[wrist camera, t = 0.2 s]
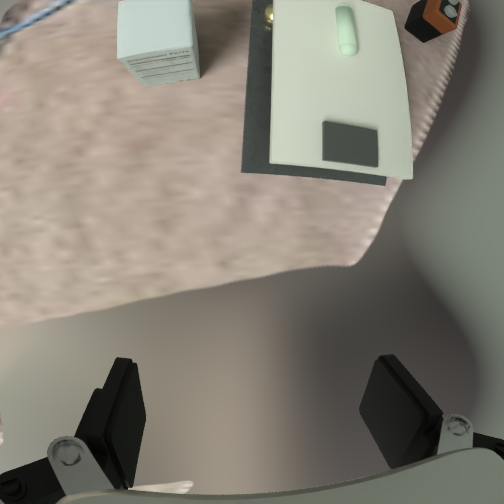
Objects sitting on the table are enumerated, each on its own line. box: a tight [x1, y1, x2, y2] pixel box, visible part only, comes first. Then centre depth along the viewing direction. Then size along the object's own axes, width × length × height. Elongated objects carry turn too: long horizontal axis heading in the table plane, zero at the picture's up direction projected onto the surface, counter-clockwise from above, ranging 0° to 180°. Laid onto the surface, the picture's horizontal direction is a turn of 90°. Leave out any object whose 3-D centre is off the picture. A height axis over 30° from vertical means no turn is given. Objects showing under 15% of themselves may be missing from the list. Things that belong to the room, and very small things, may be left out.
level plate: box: [269, 0, 413, 180], centre depth 28 cm, size 24×16×4 cm, turn 177°
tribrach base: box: [241, 0, 386, 186], centre depth 33 cm, size 26×20×6 cm
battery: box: [405, 0, 461, 43], centre depth 29 cm, size 4×7×10 cm, turn 155°
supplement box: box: [117, 0, 200, 88], centre depth 27 cm, size 7×7×13 cm
